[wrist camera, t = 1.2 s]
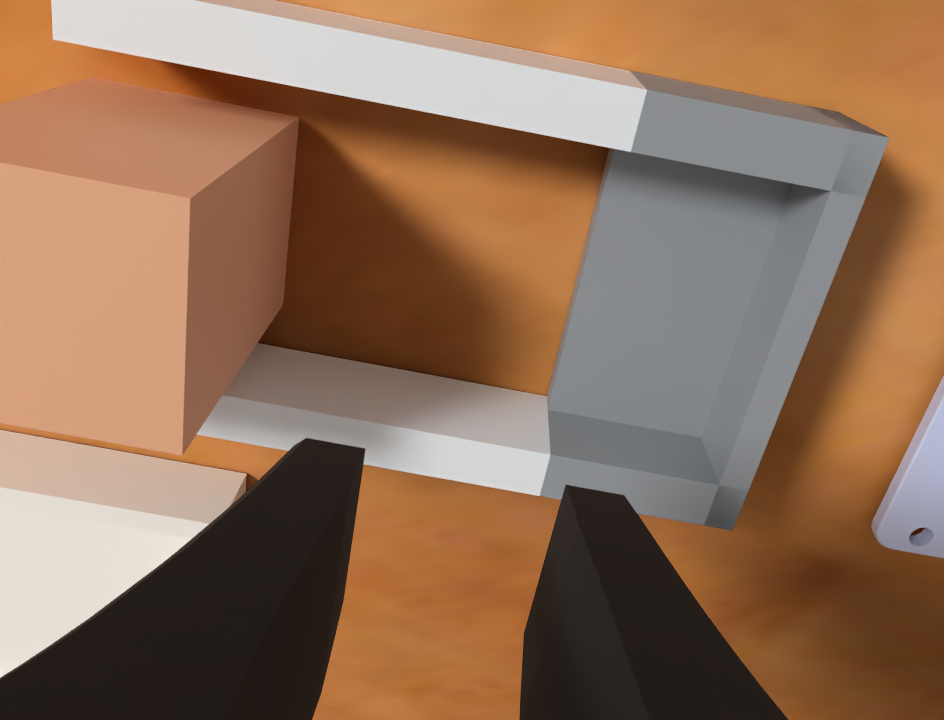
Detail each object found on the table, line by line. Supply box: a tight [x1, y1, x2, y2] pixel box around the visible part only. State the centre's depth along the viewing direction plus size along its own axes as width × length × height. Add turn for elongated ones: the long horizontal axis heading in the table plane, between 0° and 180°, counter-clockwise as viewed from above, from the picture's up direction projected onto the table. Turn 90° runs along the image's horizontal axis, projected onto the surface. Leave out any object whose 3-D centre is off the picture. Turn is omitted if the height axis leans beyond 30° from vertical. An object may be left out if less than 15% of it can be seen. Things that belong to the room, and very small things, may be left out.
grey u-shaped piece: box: [540, 71, 889, 531], centre depth 16 cm, size 4×8×2 cm, turn 170°
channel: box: [51, 0, 647, 496], centre depth 16 cm, size 10×8×2 cm
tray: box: [0, 430, 247, 678], centre depth 21 cm, size 9×9×2 cm
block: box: [0, 77, 299, 455], centre depth 14 cm, size 4×4×6 cm
